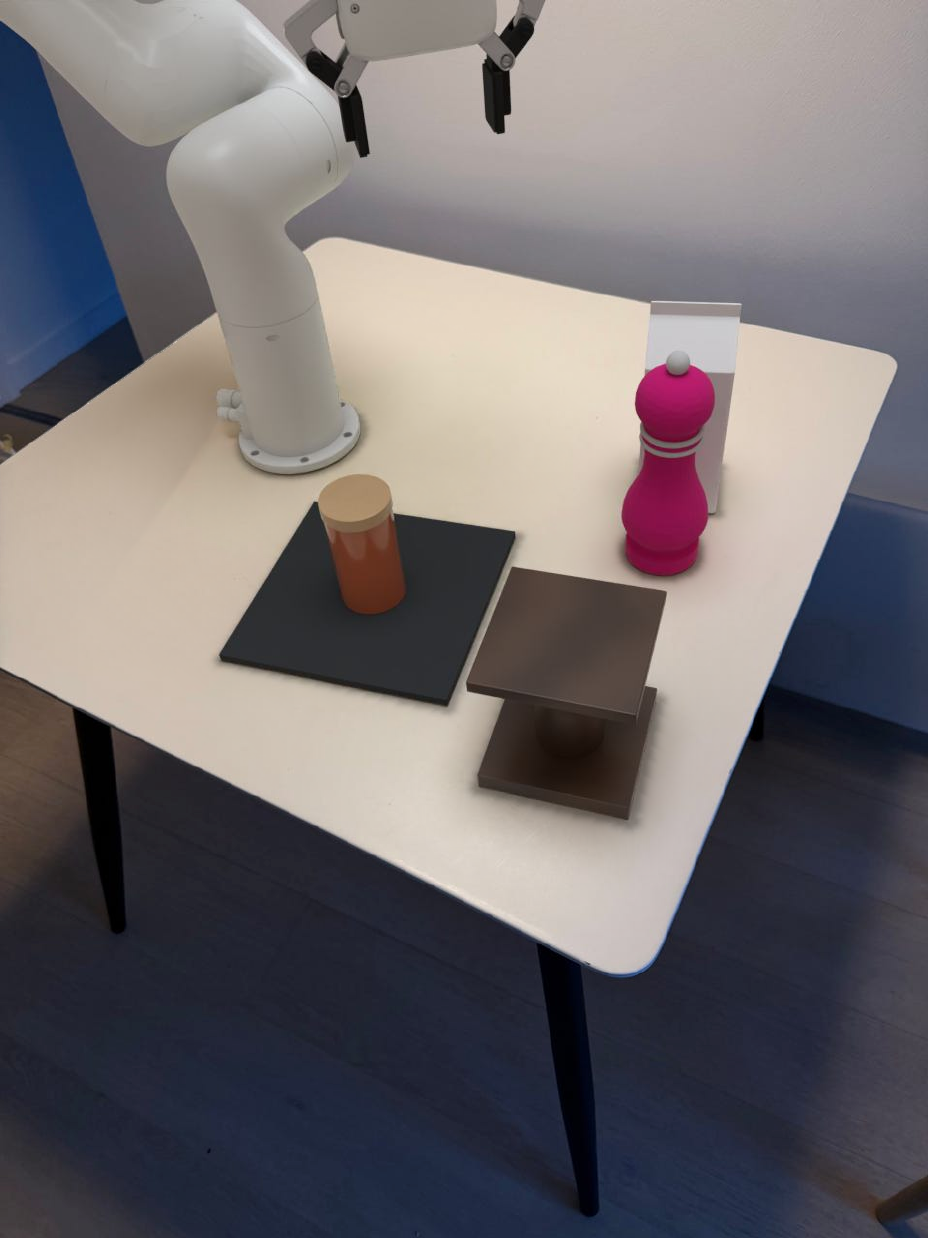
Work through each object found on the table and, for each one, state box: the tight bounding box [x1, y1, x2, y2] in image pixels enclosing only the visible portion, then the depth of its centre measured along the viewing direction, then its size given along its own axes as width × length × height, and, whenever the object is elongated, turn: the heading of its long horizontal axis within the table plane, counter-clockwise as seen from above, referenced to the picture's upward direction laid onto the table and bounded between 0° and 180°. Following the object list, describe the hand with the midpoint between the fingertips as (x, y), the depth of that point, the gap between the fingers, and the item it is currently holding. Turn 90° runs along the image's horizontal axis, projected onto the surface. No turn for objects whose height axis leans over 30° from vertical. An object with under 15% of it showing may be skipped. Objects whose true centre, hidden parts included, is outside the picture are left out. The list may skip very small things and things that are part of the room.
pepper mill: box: [620, 351, 715, 576], centre depth 80 cm, size 7×7×20 cm
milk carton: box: [638, 300, 743, 514], centre depth 86 cm, size 7×7×19 cm
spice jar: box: [317, 473, 406, 615], centre depth 82 cm, size 6×6×11 cm
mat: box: [218, 500, 517, 707], centre depth 86 cm, size 20×20×1 cm
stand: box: [465, 566, 668, 820], centre depth 70 cm, size 11×11×12 cm
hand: (429, 138), depth 70 cm, fingers open, 9 cm apart
